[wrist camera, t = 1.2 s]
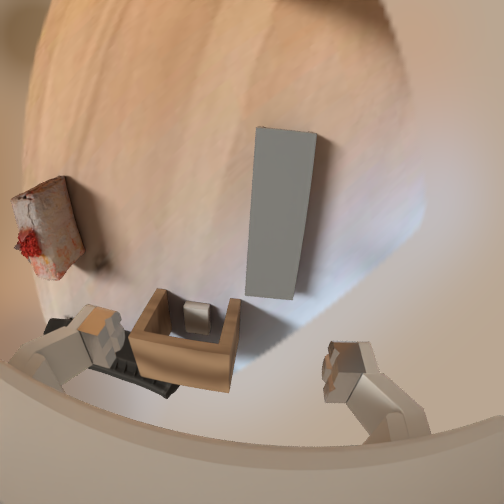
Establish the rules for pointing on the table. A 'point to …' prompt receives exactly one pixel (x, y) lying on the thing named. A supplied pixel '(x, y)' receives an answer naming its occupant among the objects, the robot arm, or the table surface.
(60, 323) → the magazine
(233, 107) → the table surface
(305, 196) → the grey channel riser
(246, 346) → the table surface
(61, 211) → the food item
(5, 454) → the robot arm
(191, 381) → the wooden arch
